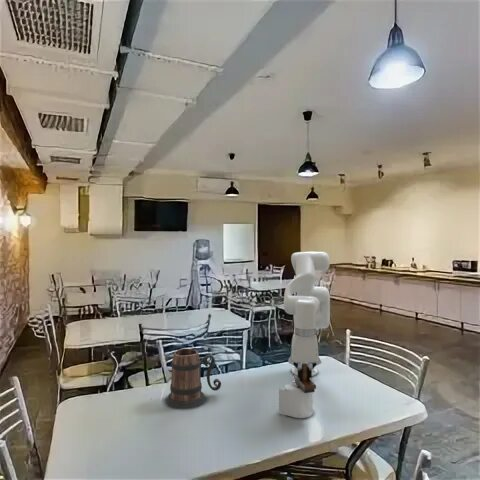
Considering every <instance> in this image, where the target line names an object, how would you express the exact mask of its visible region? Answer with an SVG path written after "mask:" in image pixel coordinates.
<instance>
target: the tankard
mask: <svg viewBox="0 0 480 480" xmlns="http://www.w3.org/2000/svg"><path fill="white" fill-rule="evenodd" d="M210 358H211V360H210V363H209V365H208V359H210ZM215 361H216V360H215V357H214V356H213V355H212V354H210V353H208V354H206V355H205V356H204V357H202V360H201V359H200V354H199V351H198V350H197V349H192V348H186V347H185V348H179V349H177V350H175V351H174V352H173V355H172V360H171V365H170V366H171V378H170V379H171V381H170V387H169V391H170V392H169V394H168V396H167V397H166V398H165V404H166V405H167V406H168V407H170V408H173V409H178V410H189V409H195V408H198V407H200V406H203V405H204V404H206V402H207V397H206V396H205V394H204V392H203V391H202V388H203V385H202V380H201V379H202V377H201V365H202V363H203V365H204V366H205V367H206V368H207V370H206V382H207V386H208V387H209V388H210V389H211V391H214V392H217V391H218V390H220V389H221V387H222V382H221V381H220V379H219V378H216V379H215V378H214V380H213V382H212V384H213V385H214V386H212V384H211V379H210V378H211V372H212V370H213V368H214V366H215Z"/></svg>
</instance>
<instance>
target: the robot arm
mask: <svg viewBox="0 0 480 480" xmlns="http://www.w3.org/2000/svg"><path fill="white" fill-rule="evenodd" d="M290 261H291V265H292V268H293V270H294V273H295V277H294V278H293V279H292V280H290V282H288V284H287V285H286V287H285V289H284V294H283V309H284V312H285V313H286V314H287V315H293V324H294V333H293V334H292V338H291V348H290V356H289V358H288V360H287V362H288V364H290V365H292V368H291V373H292V374H293V375H298V378H299V379H300V381H301V380H302V364H303V363H306V364H308V381H310V380H311V379H312V377H314V376H317V374H318V369H317V368H316V366H319V365H321V364H322V360H321V358H320V355H319V341H318V337H317V334H319V333H320V330H321V329H322V330H324V329H328V328H329V327H330V323H331V293H330V290H329V288H328V287H325V286H316V285H315V283H316V282H317V281H316V280H317V275H316V274H317V273H316V272H327V271H328V270H329V269H330V265H331V262H330V261H331V260H330V255H329V254H328V253H327V252H326V251H298V252H297V251H296V252H293V253H292V254H291V256H290ZM295 293H296V295H294V294H295ZM319 329H320V330H319Z"/></svg>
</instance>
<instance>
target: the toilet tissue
mask: <svg viewBox="0 0 480 480" xmlns="http://www.w3.org/2000/svg"><path fill="white" fill-rule="evenodd" d="M313 395H314V392H311V393H304V392H303V391H302V390H301V389H300V388H299V387H298V385H297V384H296V383H295V381H290V382H287V383H285V385H284V389H282V388H278V406H277V407H278V408H277V409H278V411H277V412H278V414H281V415H285V416H289V417H291V418H296V419H306V418H307V419H308V418H309V417H311V416H312V415H313V412H314V411H313V407H314V406H313V404H314V402H313V399H314V397H313Z"/></svg>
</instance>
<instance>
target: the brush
mask: <svg viewBox="0 0 480 480" xmlns="http://www.w3.org/2000/svg"><path fill="white" fill-rule="evenodd" d="M293 380H294V382H295V383H296V384H297V385H298V387H299V388H300V389H301V390H302V391H303V392H304V393H311V392H313V393H315V392H316V389H317V384H316V383H315V382H313V380H312V379H310V381H308V364H306V363H303V364H302V380H301V381H300V379H299V378H298V375H296V374H293Z"/></svg>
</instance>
